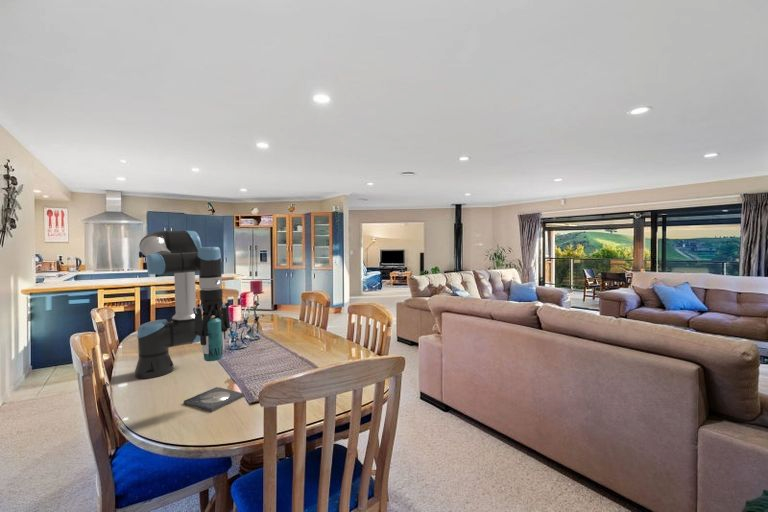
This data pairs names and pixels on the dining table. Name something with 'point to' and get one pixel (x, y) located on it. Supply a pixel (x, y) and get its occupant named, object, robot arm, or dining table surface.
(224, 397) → the motor plate
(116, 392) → the dining table surface
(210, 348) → the beverage bottle
